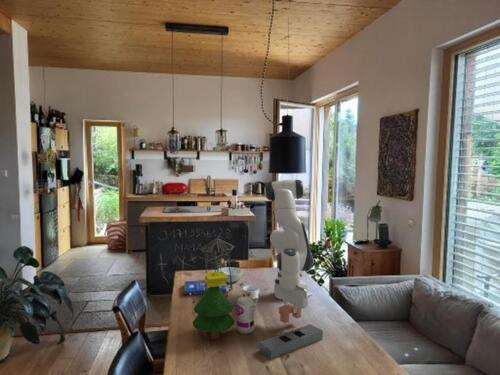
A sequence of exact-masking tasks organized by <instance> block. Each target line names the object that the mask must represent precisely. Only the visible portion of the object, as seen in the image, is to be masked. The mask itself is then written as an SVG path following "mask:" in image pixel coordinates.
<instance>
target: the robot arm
mask: <svg viewBox="0 0 500 375" xmlns="http://www.w3.org/2000/svg"><path fill="white" fill-rule="evenodd" d="M305 192H306V187H305V185H304V183H303V181H302V180H301V179H283V180H278V181H277V180H276V181H269V182H266V184H265V187H264V195H265V198H266V199H267V200H268V201H271V202H274V206H273V207H274V208H273V209H274V210H273V211H274V218H275V222H276V223H277V224H278V225H279V226H281V227H282V229H274V230H273V231H272V232H271V233H270V236H269V241H270V244H271V245H272V246H273V248H274V249H275V252H276V254H277V255H276V268H277V269H278V272H277V278H274V279H273V280H274V281H273V282H274V285H273V286H274V287H273V288H274V290H273V292H274V295H275V297H276V298H277V299H279V300H281V301H283V306H284V305H287V304H290V303H292V304H293V306H294V308H292V312H293V313H296V312H297V308H298V307H300V308H302V309H304V308H307V307H308V306H309V301H308V297H310V296H312V295H313V293H312V291H310V290H309V287H308V284H307V283H306V282H305V281H304V280H303V279H301V277H303V275H304V274H303V273H302V272H308V271H310V270H311V269H312V268H313V267H314V265H315V264H314V262H315V260H314V256H313V254H312V250H311V247H310V242H309V239H308V234H307V231H306V230H307V229H306V227H305V223H304V222H303V220H302V219H300V218H299V217H298V215H297V206H296V204H297V203H296V200H300V199H301V198H303V197H304V195H305Z"/></svg>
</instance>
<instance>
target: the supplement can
mask: <svg viewBox="0 0 500 375" xmlns="http://www.w3.org/2000/svg"><path fill="white" fill-rule="evenodd" d="M254 330H255V301H254V299H253V297H250V296H241V297H238V299H237V301H236V331H237V332H239V333H240V334H250V333H252V332H253V331H254Z"/></svg>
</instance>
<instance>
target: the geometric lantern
mask: <svg viewBox="0 0 500 375" xmlns="http://www.w3.org/2000/svg"><path fill="white" fill-rule="evenodd" d="M215 246H217V251H213V250H214V248H215ZM234 248H235V245H233V244H231V243H229V242H227V241H225V240H222V239H221V238H217V237H216V238H215V239H214V240H212V241H211V242H208V243H207V244H206V245H204V246H202V247H201V248H200V251H201V252H202V253H204V254H205V255H206V258H205V259H206V261H205V273H208V272H207V271H208V264H212V265H214V272H219V269H220V272H221V268H222V265H223V264H226V263H228V267H229V271H230V283H229V284H230V285H229V286H228V285H224V286H221V291H222V292H223V293H224V295H225V296H226V297H227V298H229V293H230V292H231V291H232V290H233V283H232V279H231V270H230V267H231V262H230V261H231V259H230V253H231V252H232V251H233V249H234ZM220 250H221V251H220ZM213 253H214V254H213ZM218 253H220V254H219V256H218V257H216V256H215V255H217V254H218ZM209 254H210V255H209ZM221 255H223V257H221ZM226 256H227V258H225V257H226ZM210 257H212V258H211V259H209V258H210ZM208 259H209V260H208ZM220 259H221V260H220ZM212 260H214V263H213V262H210V261H212ZM219 260H220V261H219ZM223 260H227V261H224V262H223ZM204 278H205V279H204V281H205V280H206V279H207V278H208V277H207V276H206V275H205V276H204ZM204 284H205V285H204V293H205V292H206V290H207V289H208V287H207V286H208V285H207V284H206V283H205V282H204ZM224 288H229V289H228V290H227V291H224Z"/></svg>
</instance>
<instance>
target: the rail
mask: <svg viewBox="0 0 500 375" xmlns="http://www.w3.org/2000/svg"><path fill="white" fill-rule="evenodd" d="M323 336H324V330H322V329H321V328H318V327H317V326H314V325H313V324H311V323H309V324H307V325H304V326H300V327H298V328H295V329H293V330H290V331H285V333H280V334H279V335H275V336H273V337H269V338H266V339H265V340H261V341H259V343H258V352H259V353H260V354H262V355H264V356H265V357H266V358H268V359H269V360H273V359H276V358H278V357H281V356H283V355H287V354H289V353H291V352H293V351H296V350H298V349H301V348H304V347H306V346H309V345H311V344H314V343H317V342H320V341H322V340H323Z"/></svg>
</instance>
